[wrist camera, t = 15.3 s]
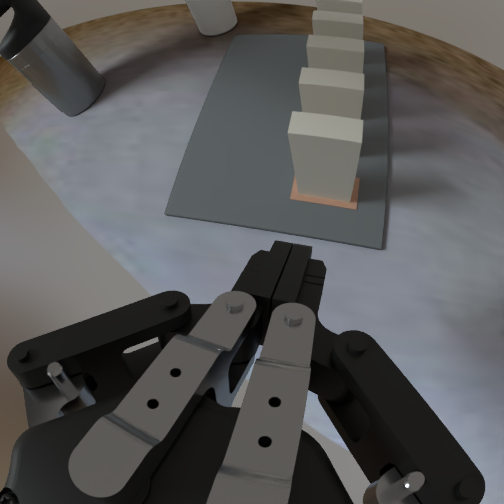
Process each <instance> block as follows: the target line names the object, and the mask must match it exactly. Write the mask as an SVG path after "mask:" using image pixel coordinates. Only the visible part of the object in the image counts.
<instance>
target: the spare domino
mask: <svg viewBox="0 0 504 504" xmlns="http://www.w3.org/2000/svg"><path fill="white" fill-rule="evenodd" d="M362 133H363V120H359V119H353V118H347V117H340V116H332V115H324V114H316V113H306V112H296V111H292V115H291V119H290V124H289V128H288V138H289V144H290V149H291V155H292V160H293V166H294V171H295V177H296V183H297V189H298V194H300V195H307V196H314V197H320V198H326V199H332V200H338V201H344V202H350V200H351V195H352V191H353V186H354V181H355V176H356V171H357V166H358V161H359V156H360V150H361V145H362Z"/></svg>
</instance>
